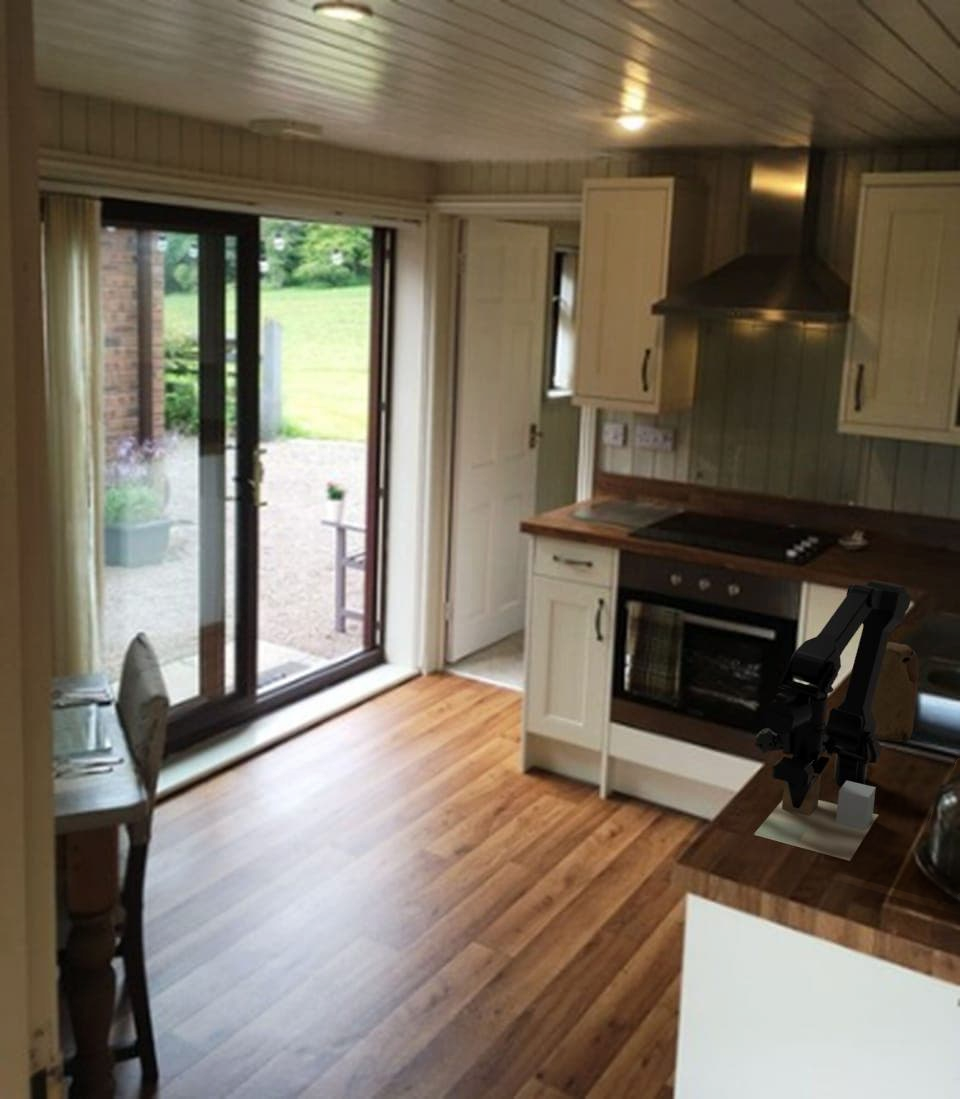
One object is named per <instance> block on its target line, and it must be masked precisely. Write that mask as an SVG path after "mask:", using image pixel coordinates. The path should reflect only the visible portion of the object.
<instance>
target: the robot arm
mask: <svg viewBox="0 0 960 1099" xmlns="http://www.w3.org/2000/svg"><path fill="white" fill-rule="evenodd" d="M845 595H846V596H845V598H844V599H843V600H842V602H840V604H839V606H838V607H837V609H836V610H835V612H834V613H833V614H832V615H831V617H830V618H829V620H828V621H827V622H826V623H825V625H824V626H823V627H822V629H821V631H820V632H819V634H817V635H816V636H814V637H812V638H810V639H807V640H805V641H804V642H803V643H802V644H800V646H799V647H798V648H797V649H796V650H795V651H794V652H793V653H792V654H791V656H790V658H789V660H788V663H787V665H786V667H785V670H784V672H783V673H782V675H781V678H780V680H779V682H778V684H777V687H778V688H780V689H782V690H785V691H784V692H778V693H777V694H776V695H775V700H773V701H771V702H769V703H768V704H767V705H766V706H765V708H764V710H763V720H764V723H765V725H766V726H767V728H763V729H761V730H760V731H759V732H758V733H757V734H756V737H755V745H754V746H755V747H757V748H758V749H759V751H760V753H761V754H766V753H768V752H775V751H782V754H784V755H788V756H790V755H792V757H788V756H782V757H781V758H780V759H778V760H777V761H776V762H775V764H773V766H772V767H771V768H772V769H771V777H772V778H773V779H775V780H778V781H779V780H780V781H783V782H784V781H787V783H788V787H789V791H790V796H791V800H792V805H793V807H795V808H799V807H800V806H801V804H802V802H803V800H804V798H805V796H806V794H807V792H808V791H809V789H810V787H811V785H812V783H813V781H814V779H815V777H816V776H814V775H813V773H818V774H821V775H822V774H823V771H824V770H825V768H826V766H827V764H828V763H829V762H830V758H829V757H826V756H823V755H824V753H827V756H830V757H832V756H833V755H834V754H835V762H834V763H835V764H834V772H833V780H834V781H835V782H836V785H837V786H838V787H840V788H841V787H842V786H843V785H844V783H845V782H846V780H847V781H851V782H855V783H859V784H864V785H866V779H867V771H868V765H869V764H876V763H878V759H879V758H880V756H881V751H882V746H881V744H880V743H879V741H878V739H876V737H875V735H874V731H875V726H876V724H875V720H874V717H873V714H872V711H871V704H872V700H873V697H874V693H875V689H876V685H877V681H878V677H879V673H880V670H881V666H882V662H883V658H884V654H885V650H886V646H887V643H888V642H889V638H890V634H891V633H892V632H893V631H894V630H895V629H896V628H897V627H898V626H899V625H900V624H901V623H902V622H903V621H904V618H905V616H906V612H907V611H908V610H909V608H910V605H911V594H910V593H908V592H907V589H906V587H905V586H902V585H897V584H894V583H888V582H884V581H880V580H879V581H878V580H875V579H871V580H870V581H868V583H867V584H863V583H855V584H850V585H849V587H848V588H847V591H846V594H845ZM861 626H862V631H861V634H860V638H859V642H858V646H857V650H856V654H855V658H854V661H853V665H852V669H851V672H850V676H849V680H848V685H847V687H846V692H845V695H844V699H843V702H841V703H840V704H839V705H838V706H837V707H832V708H831V710H829V713H828V714H829V715H828V720H827V723H826V716H827V709H828V707H827V706H828V700H829V699H828V698H829V697H828V696H829V694H830V693H832V692H834V687H833V684H834V683H835V681H836V679H837V678H838V675H839V672H840V670H841V668H842V663H841V656H842V654H843V652H844V651H845V649H846V647H847V646H848V645H849V643H850V642H851V640H852V639H853V637H854V636H855V634H856V633H857V631H858V630H859V629H860V627H861ZM793 679H795V680H797V681H795V680H793ZM798 681H801V682H798ZM802 682H804V683H802ZM806 683H807V684H806Z"/></svg>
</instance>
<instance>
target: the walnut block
mask: <svg viewBox="0 0 960 1099" xmlns="http://www.w3.org/2000/svg"><path fill="white" fill-rule="evenodd" d="M813 775H814V776H816V777H815V779H814V781H813V783H812V785H811V787H810V789H809V791H808V792H807V794H806V796H805V798H804V800H803V802H802V804H801V806H800V807H799V808H795V807H793V805H792V800H791V796H790V791H789V787H788V783H787V781H783V782H784V784H783V793H782V800H783V802H782V809H786V810H790V811H793V812H797V813H801V814H805V815H809V816H810V815H811V814H812V812H813V811H814V810H815V808H816V807H817V806H818V800H819V796H820V787H821V786H820V785H821V777H822V776H821V775H822V773H821V774H818V773H813Z"/></svg>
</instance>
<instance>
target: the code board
mask: <svg viewBox="0 0 960 1099" xmlns="http://www.w3.org/2000/svg"><path fill="white" fill-rule="evenodd" d="M782 802H783V799H782V800H781V801H780V803H779V804H778V805H777V806H776V807H775V808H774V809H773V811H771V813H770V814H769V815H768V817H767V818H766V819H765V820H764V821H763V823H761V825H759V827H758V829H757V830H756V831H755V832H754V834H753V835H755V836H758V837H762V838H765V839H769V840H773V841H776V842H781V843H783V844H787V845H790V846H791V845H792V846H794V847H799V848H802V849H805V850H808V851H813V852H817V853H821V854H824V855H827V856H831V857H834V858H838V859H841V860H842V859H843V860H846V861H851V860H852V858H853V857H854V855H855V853H856V852H857V850H858V848H859V847H860V845H861V844H862V841H863V840H864V839H865V837H866V835H867V834H868V833H869V831H870V829H871V827H872V826H873V824H874V823H875V821H876V820H877V818H878V817H879V814H877V813H873V816H872V820H871V822H870V823H869V825H868V827H867V828H866V830H863V829H859V828H855V827H851V826H847V825H844V824H840V823H836V816H837V806H838V803H832V802H829V801H825V800H820V799H818V806H817V807H816V808H815V810H814V811H813V812H812V814H811V815H810V816H809V815H805V814H801V813H797V812H793V811H790V810H786V809H782Z"/></svg>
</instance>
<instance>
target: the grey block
mask: <svg viewBox="0 0 960 1099" xmlns="http://www.w3.org/2000/svg"><path fill="white" fill-rule="evenodd" d="M876 788H877V787H876V786H871V785H867V784H859V783H855V782H851V781H847V780H846V782H845V783H844V785H843V786H842V787H841V786H840V788H839V790H838V796H837V797H838V799H837V805H838V806H837V816H836V823H840V824H844V825H847V826H851V827H855V828H859V829H863V830H866V828H867V827H868V825H869V823H870V822H871V820H872V816H873V814H874V808H875V807H874V806H875V805H874V804H875V796H876Z"/></svg>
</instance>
